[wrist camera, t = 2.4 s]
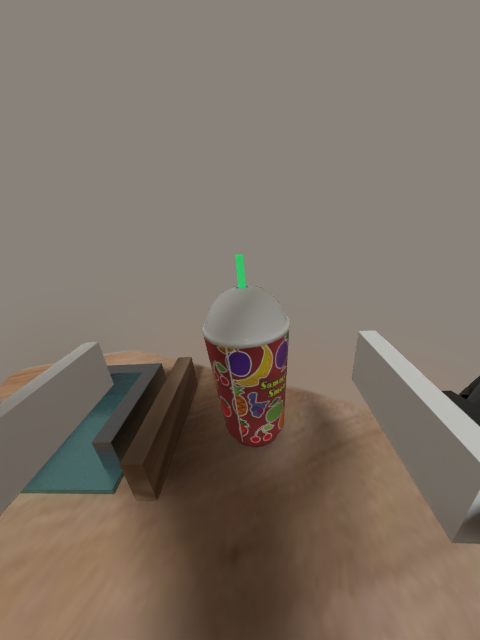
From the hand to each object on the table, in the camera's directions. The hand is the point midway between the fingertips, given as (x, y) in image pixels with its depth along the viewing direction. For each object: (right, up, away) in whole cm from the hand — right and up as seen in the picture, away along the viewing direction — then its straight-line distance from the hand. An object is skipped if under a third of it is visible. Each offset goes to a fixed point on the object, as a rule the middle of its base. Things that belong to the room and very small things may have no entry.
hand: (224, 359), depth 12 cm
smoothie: (+3, -11, +16) cm, 19 cm away
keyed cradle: (-18, -12, +18) cm, 28 cm away
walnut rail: (-7, -11, +17) cm, 21 cm away
